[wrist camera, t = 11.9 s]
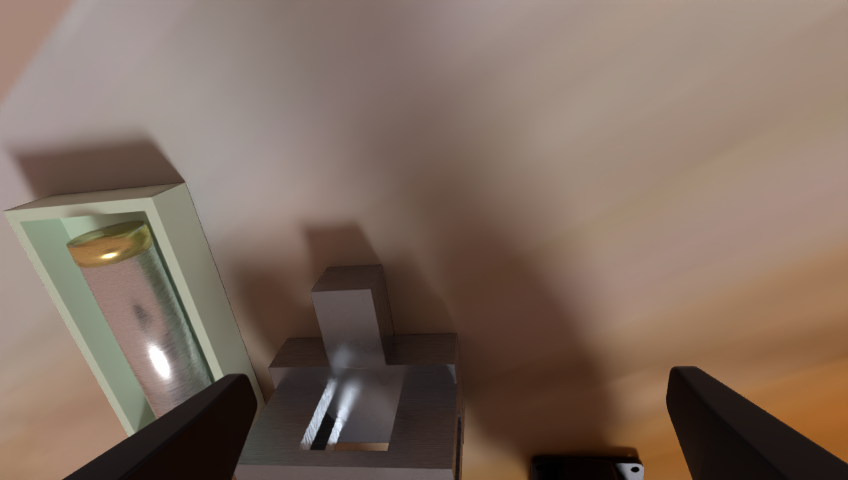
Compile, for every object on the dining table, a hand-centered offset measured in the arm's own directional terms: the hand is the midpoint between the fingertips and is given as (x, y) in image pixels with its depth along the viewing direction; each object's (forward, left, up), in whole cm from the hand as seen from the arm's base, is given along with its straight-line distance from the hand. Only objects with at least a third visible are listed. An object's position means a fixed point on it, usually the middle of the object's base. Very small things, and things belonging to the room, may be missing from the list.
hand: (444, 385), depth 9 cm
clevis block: (-9, +6, -12) cm, 16 cm away
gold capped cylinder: (-5, +17, -10) cm, 21 cm away
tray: (-6, +18, -12) cm, 22 cm away
